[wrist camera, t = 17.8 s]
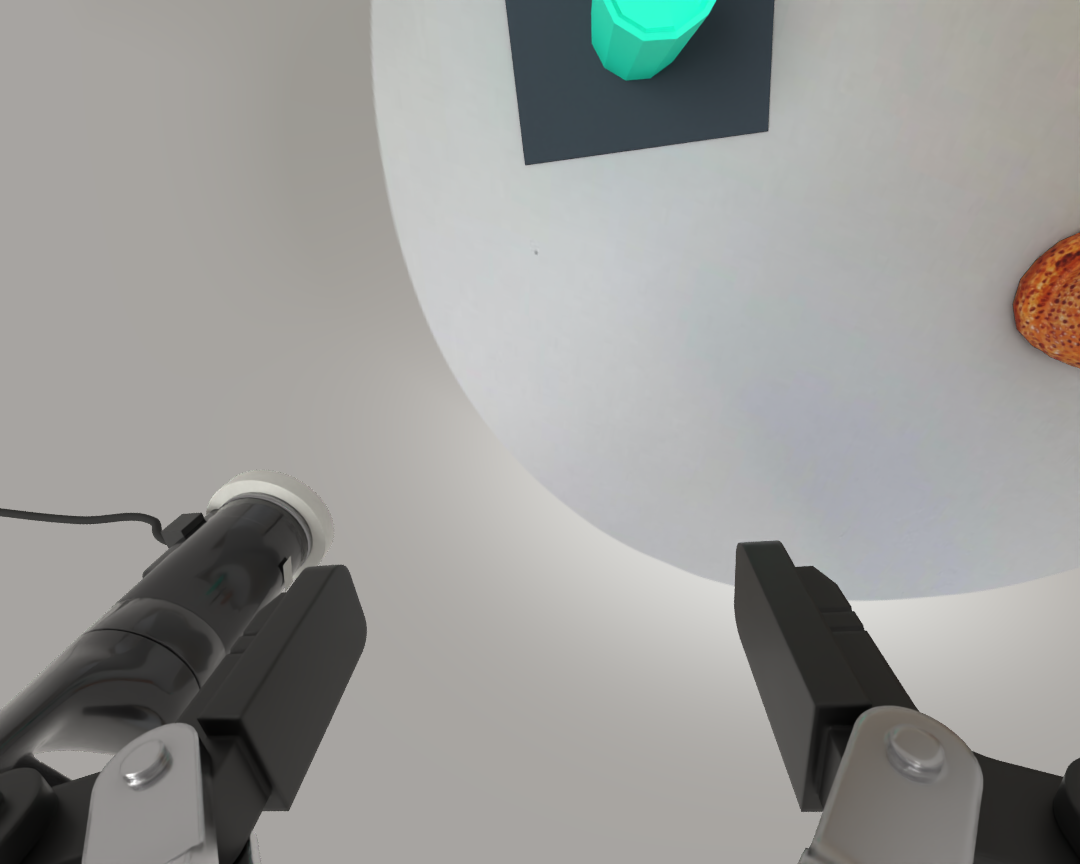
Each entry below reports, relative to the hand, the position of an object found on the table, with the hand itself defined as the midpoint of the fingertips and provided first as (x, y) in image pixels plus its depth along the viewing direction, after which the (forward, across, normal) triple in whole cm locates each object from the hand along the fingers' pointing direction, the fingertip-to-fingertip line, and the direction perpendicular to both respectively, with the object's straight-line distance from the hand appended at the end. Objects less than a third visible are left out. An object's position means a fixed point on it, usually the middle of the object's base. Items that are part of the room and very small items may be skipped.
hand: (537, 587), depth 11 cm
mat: (+32, -6, -16) cm, 36 cm away
